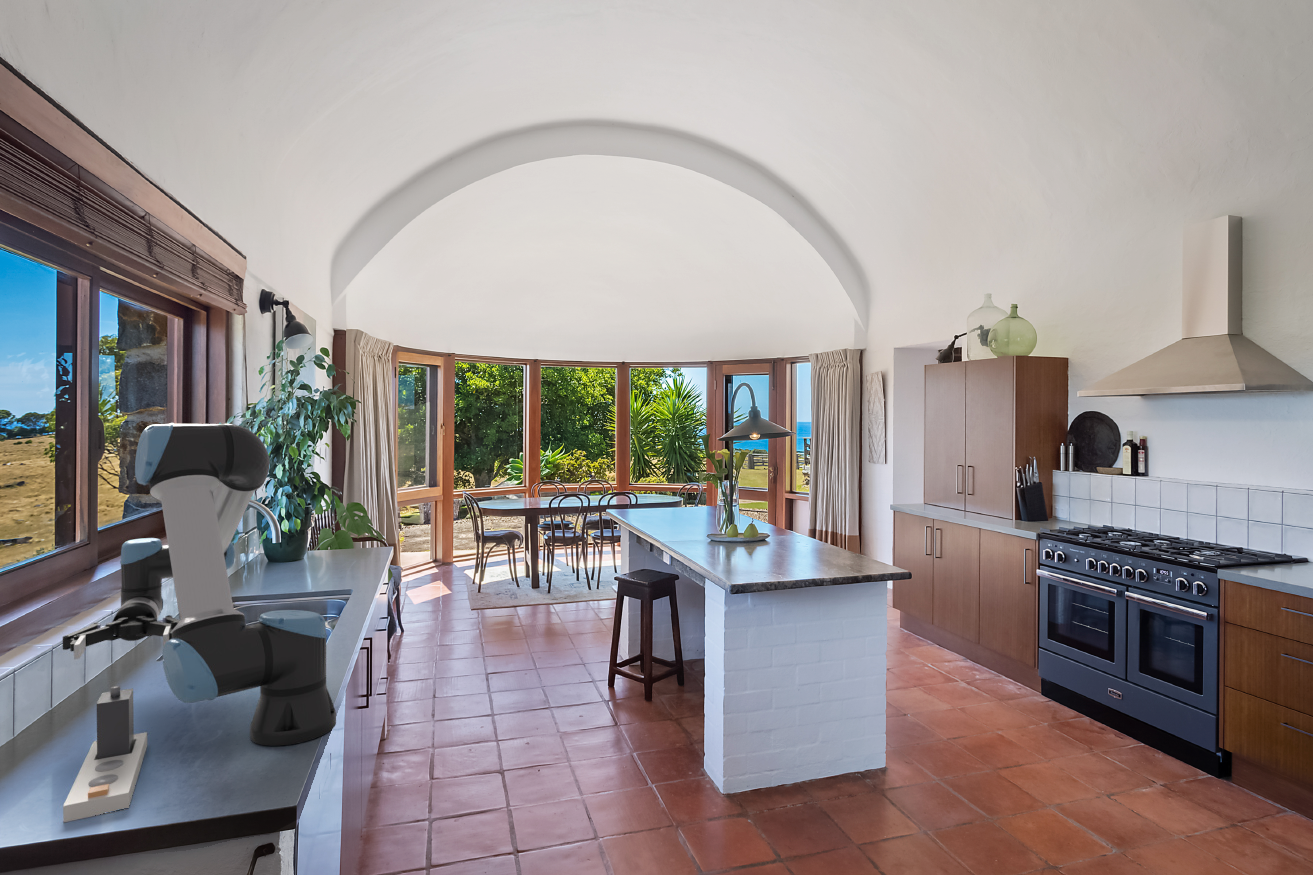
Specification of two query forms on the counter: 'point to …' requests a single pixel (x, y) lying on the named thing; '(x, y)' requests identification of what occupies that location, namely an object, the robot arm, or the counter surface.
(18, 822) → the counter surface
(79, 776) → the power strip
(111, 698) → the grey block with knob
